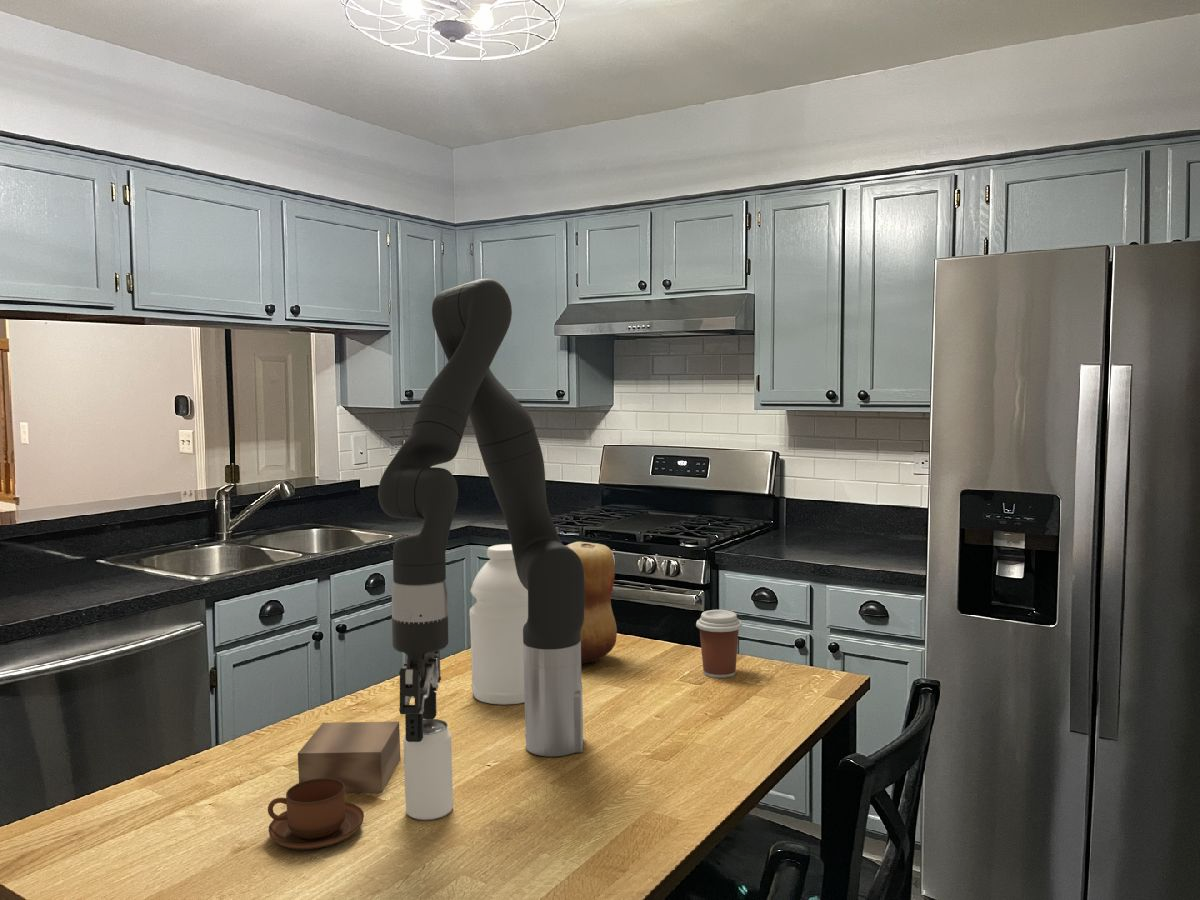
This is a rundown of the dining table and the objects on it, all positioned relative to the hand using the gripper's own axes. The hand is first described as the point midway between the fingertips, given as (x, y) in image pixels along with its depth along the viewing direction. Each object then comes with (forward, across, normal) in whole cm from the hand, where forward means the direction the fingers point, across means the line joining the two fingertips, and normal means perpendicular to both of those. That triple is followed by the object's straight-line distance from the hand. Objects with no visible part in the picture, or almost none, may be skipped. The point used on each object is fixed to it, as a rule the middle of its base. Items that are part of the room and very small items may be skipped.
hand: (421, 729), depth 128 cm
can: (+12, 0, -1) cm, 12 cm away
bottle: (+11, +48, -6) cm, 50 cm away
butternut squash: (+11, +67, -19) cm, 71 cm away
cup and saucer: (+12, -7, +12) cm, 19 cm away
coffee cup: (+10, +59, -46) cm, 76 cm away
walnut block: (+12, +11, +13) cm, 21 cm away
